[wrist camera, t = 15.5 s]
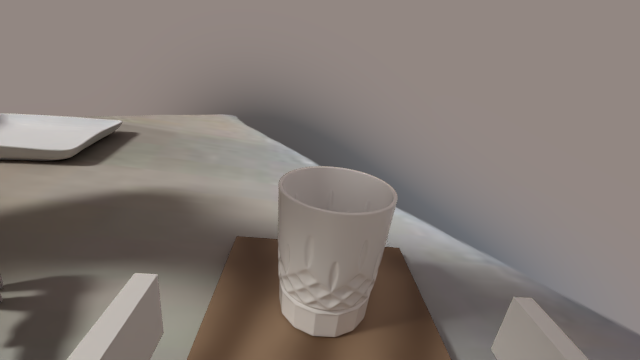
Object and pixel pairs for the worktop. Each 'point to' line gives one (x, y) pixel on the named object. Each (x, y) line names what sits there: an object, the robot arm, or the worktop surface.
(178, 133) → the worktop surface
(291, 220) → the white cup
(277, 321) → the walnut board
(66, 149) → the salad plate
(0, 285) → the caliper
